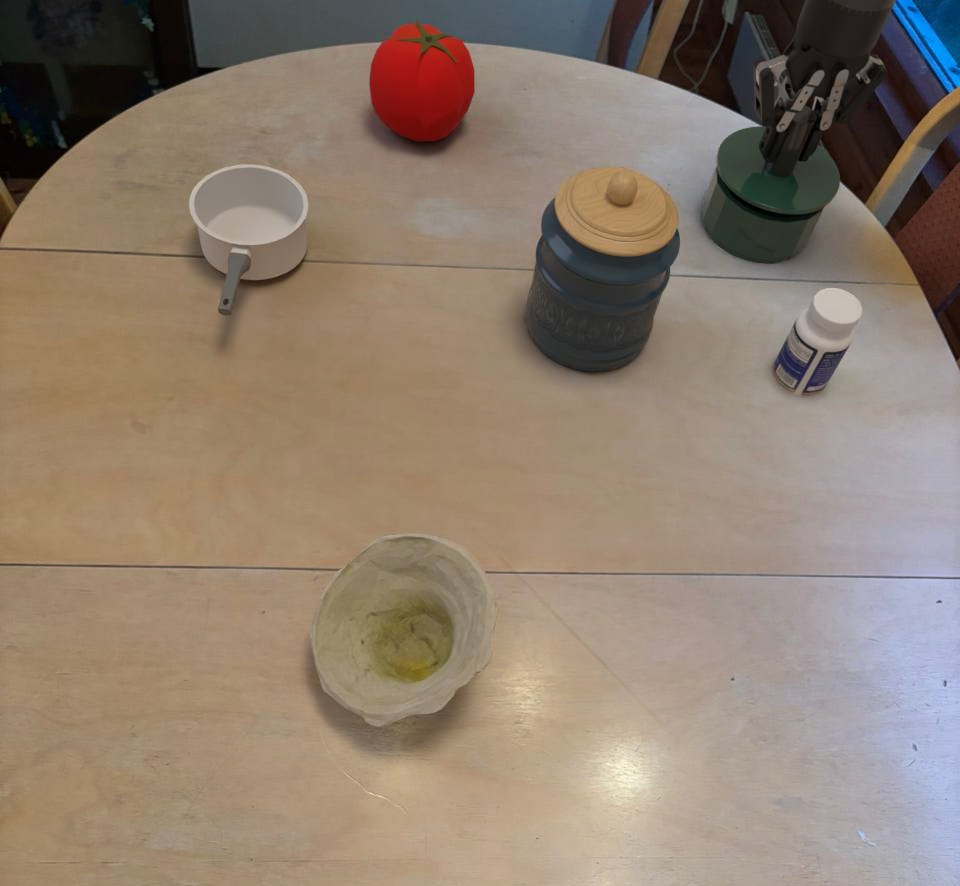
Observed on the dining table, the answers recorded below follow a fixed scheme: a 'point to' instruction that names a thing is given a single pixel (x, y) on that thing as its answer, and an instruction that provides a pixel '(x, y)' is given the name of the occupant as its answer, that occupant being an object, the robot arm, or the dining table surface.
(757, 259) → the pot
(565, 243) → the canister
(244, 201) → the saucepan
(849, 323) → the pill bottle
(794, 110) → the robot arm
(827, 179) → the lid
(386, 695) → the bowl
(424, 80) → the tomato
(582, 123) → the dining table surface
